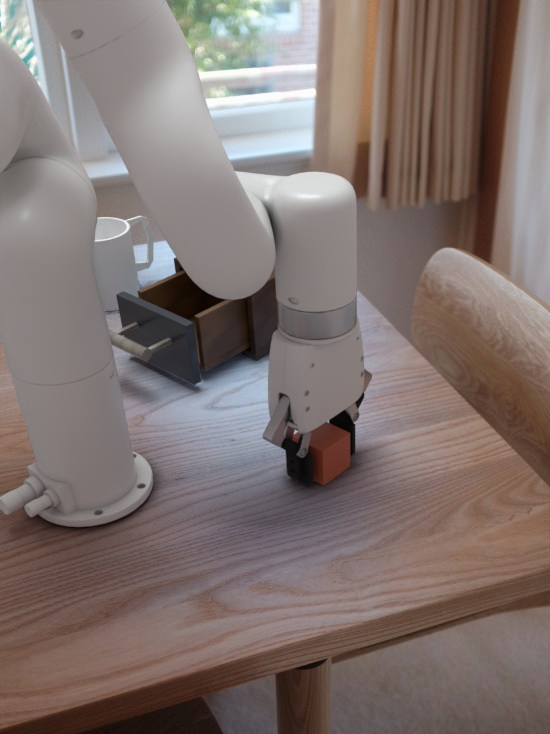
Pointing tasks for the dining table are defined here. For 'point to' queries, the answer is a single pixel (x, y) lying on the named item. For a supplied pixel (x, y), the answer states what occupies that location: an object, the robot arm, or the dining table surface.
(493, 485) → the dining table surface
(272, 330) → the cabinet
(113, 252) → the cup
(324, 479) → the block
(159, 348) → the drawer
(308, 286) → the robot arm
